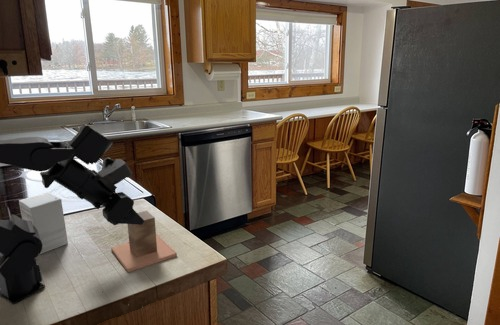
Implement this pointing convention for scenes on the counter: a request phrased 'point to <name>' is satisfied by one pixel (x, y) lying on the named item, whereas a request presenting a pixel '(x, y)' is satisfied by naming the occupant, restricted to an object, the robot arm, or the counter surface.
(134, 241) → the walnut block
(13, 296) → the robot arm
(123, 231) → the counter surface
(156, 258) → the terracotta mat
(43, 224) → the supplement box
